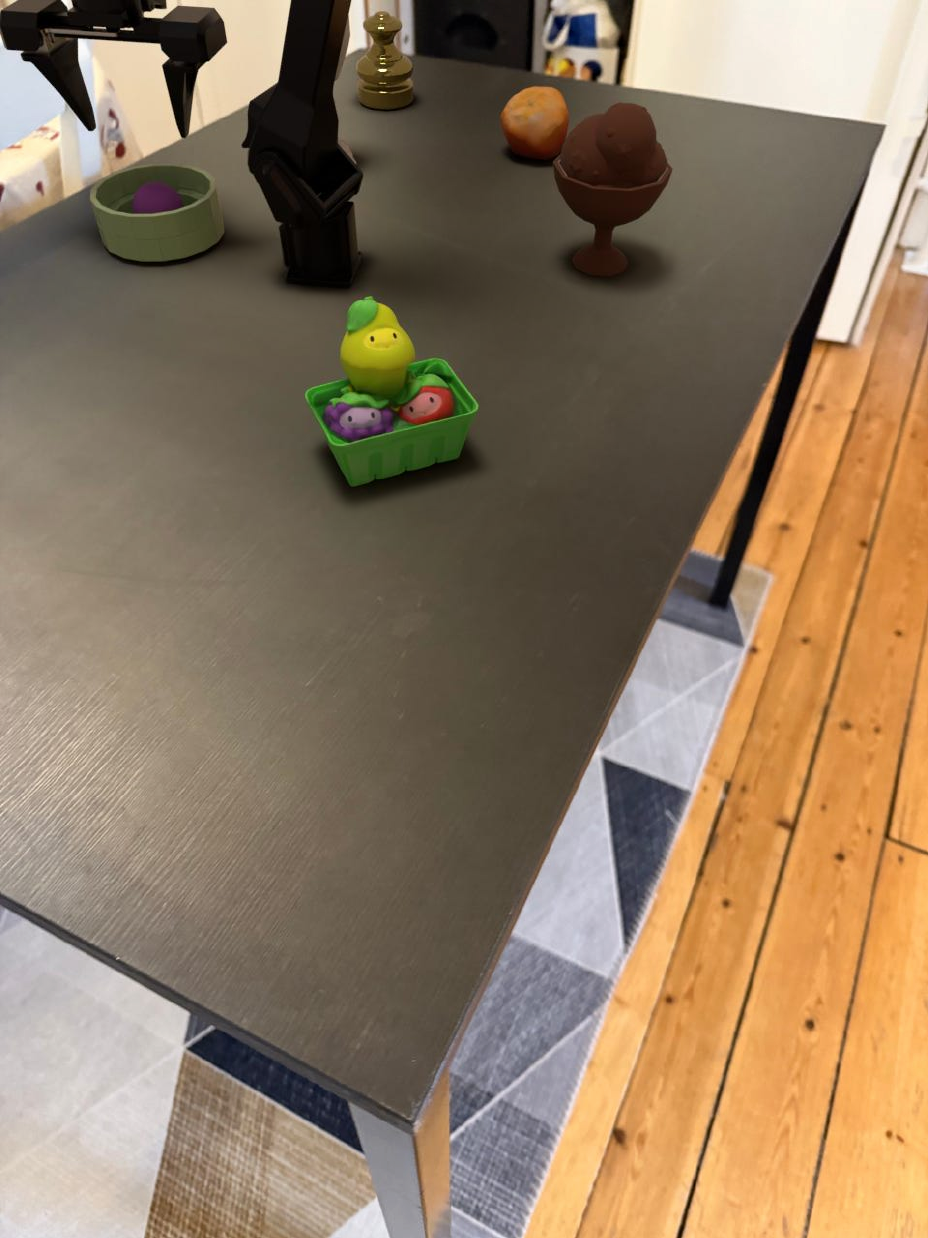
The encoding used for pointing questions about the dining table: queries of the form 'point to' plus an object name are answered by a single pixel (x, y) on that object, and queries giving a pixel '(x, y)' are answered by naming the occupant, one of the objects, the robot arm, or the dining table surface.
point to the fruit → (536, 122)
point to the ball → (156, 199)
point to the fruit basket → (389, 401)
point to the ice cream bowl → (611, 178)
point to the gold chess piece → (384, 66)
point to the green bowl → (163, 230)
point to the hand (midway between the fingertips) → (138, 132)
